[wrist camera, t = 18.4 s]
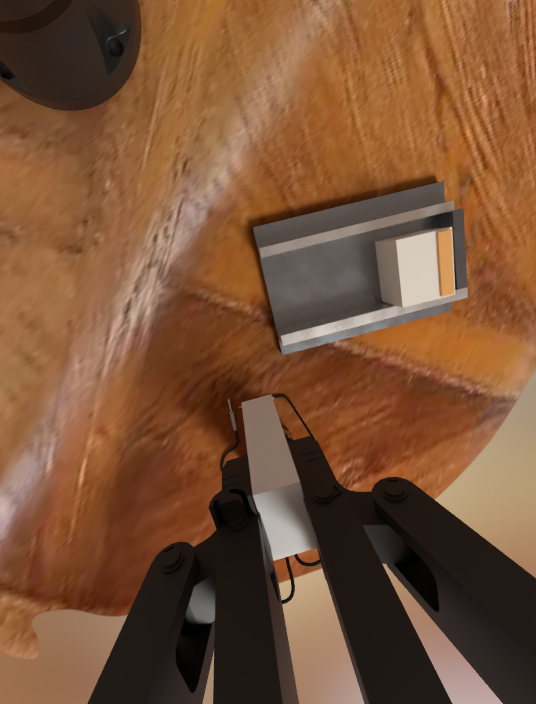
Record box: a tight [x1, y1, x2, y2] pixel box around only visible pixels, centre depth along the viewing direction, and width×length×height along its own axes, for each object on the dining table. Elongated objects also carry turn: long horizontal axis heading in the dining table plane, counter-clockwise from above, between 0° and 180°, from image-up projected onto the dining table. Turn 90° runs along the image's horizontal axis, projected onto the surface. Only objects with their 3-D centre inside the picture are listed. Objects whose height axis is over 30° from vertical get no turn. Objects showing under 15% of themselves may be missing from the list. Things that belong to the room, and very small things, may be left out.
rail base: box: [252, 181, 468, 355], centre depth 39 cm, size 15×22×4 cm
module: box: [375, 227, 455, 308], centre depth 38 cm, size 7×6×5 cm
